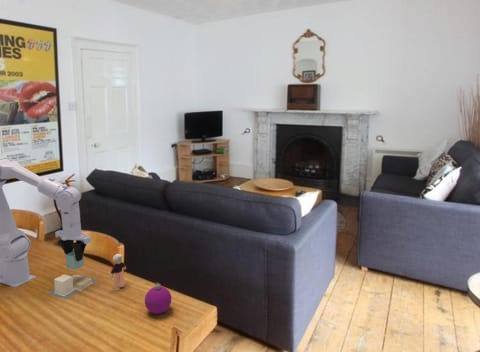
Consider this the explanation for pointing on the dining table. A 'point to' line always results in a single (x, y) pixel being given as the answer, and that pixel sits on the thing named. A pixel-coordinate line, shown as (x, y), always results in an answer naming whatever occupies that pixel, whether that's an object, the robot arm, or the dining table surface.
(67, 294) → the slate mat
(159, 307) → the christmas ornament
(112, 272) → the grandmother figurine
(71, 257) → the teal block
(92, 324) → the dining table surface
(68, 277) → the cream block
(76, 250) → the robot arm
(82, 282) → the beech brick
